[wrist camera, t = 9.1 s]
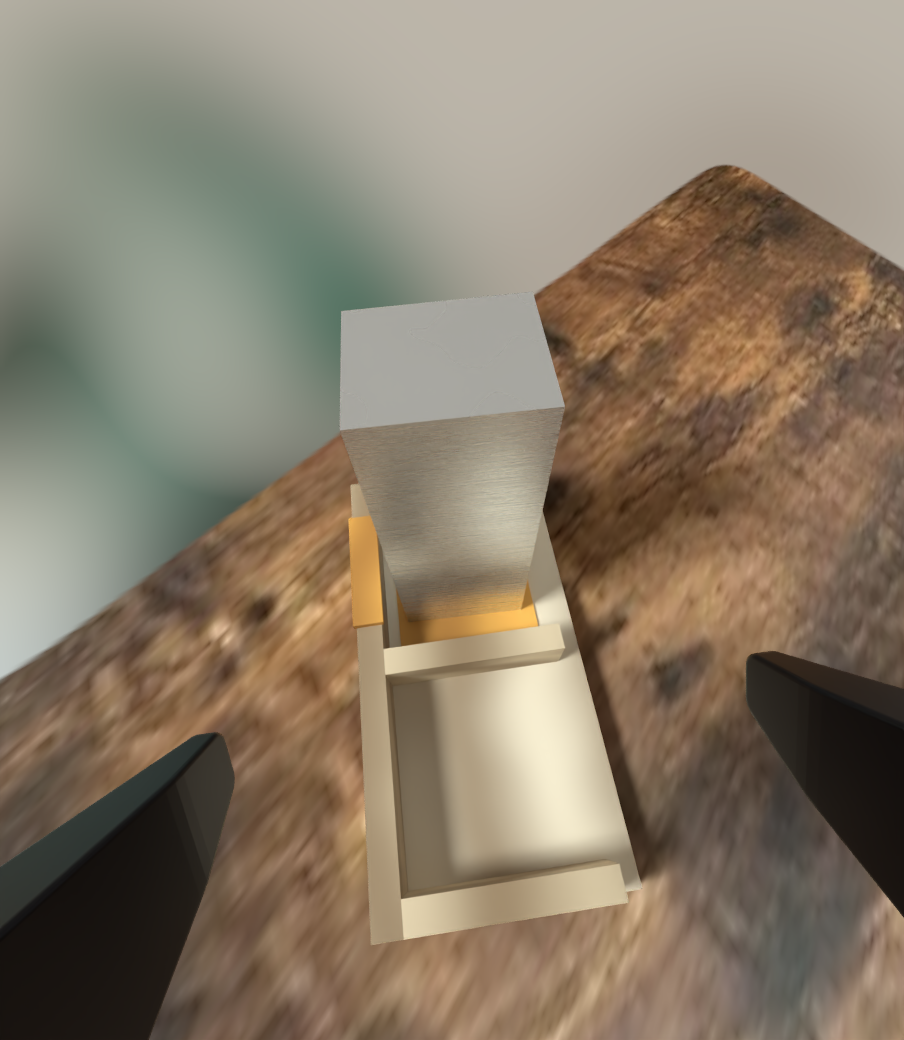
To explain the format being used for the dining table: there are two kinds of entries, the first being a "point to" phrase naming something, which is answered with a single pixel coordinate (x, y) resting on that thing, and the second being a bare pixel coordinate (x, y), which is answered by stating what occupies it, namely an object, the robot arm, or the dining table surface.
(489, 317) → the brushed steel block
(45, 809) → the dining table surface
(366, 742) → the cream divided tray
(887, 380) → the dining table surface
